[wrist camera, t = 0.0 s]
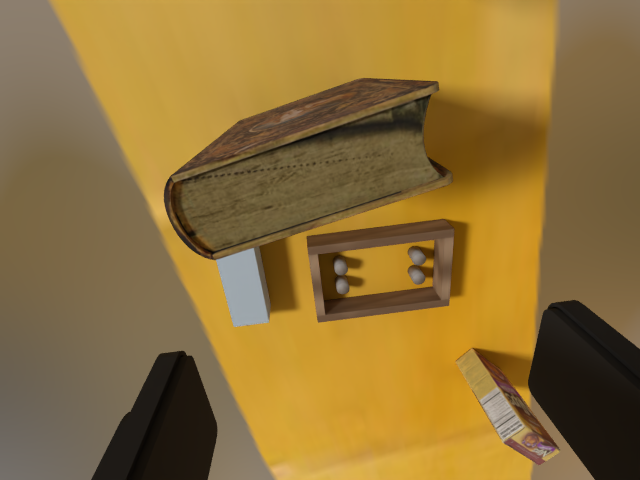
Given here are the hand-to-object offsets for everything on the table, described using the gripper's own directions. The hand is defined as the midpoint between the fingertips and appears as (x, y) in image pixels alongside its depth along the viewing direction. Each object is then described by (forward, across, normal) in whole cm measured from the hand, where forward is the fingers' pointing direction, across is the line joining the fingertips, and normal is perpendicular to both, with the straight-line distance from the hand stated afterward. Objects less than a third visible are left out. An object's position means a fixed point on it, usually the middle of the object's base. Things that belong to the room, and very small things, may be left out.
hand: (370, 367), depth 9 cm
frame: (+37, -8, +19) cm, 42 cm away
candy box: (+37, -25, +42) cm, 61 cm away
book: (+37, +1, -2) cm, 37 cm away
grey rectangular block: (+37, +12, +16) cm, 42 cm away
